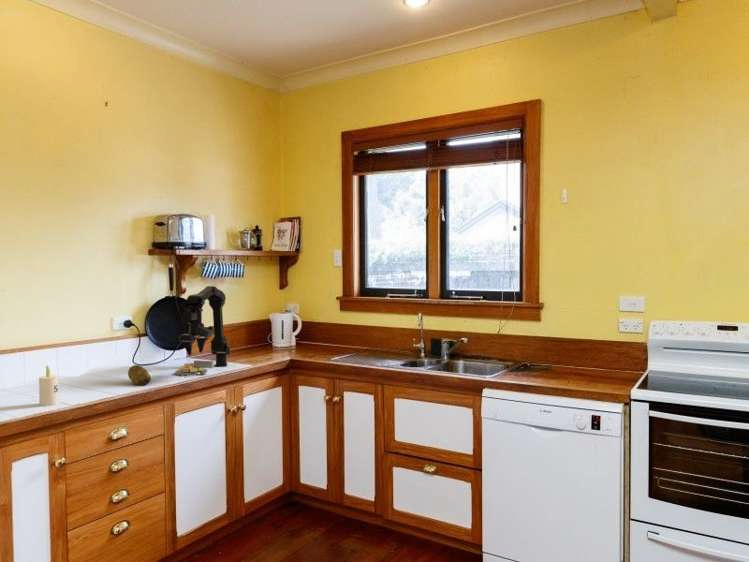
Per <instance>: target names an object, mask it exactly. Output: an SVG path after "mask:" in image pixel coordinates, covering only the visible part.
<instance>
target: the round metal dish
mask: <svg viewBox="0 0 749 562" xmlns="http://www.w3.org/2000/svg"><path fill="white" fill-rule="evenodd" d="M188 368H195V367H188ZM206 372H207V373H208V368H204V370H201V371H197V372H182V371H181V372H180V371H179V369H177V370H175V373H174V374H175V375H176V376H178V375H183V376H182V377H188V376H187V375H197V376H200V375H199V374H203V375H205V374H204V373H206ZM207 373H206V374H207Z"/></svg>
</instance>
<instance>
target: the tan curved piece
mask: <svg viewBox="0 0 749 562" xmlns="http://www.w3.org/2000/svg"><path fill="white" fill-rule="evenodd" d="M214 365H215V361H214V360H201V359H198V360H197V359H196V360H193V362H186V363H184V364H183V365H181V366H179V367H178V370H179V371H180V372H181V371H182V372H197V371H201V370H204V369H213V368H215V366H214ZM188 367H195V368H188Z"/></svg>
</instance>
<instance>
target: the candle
mask: <svg viewBox="0 0 749 562" xmlns="http://www.w3.org/2000/svg"><path fill="white" fill-rule="evenodd" d="M45 372H46V373H45V374H46V375H42V376H39V378H38V389H39V391H38V395H39V396H38V397H39V399H38V400H39V407H40V406H41V407H49V406H56V405H58V404H59V376H58V375H56V374H55V375H53V374H52V375H51V372H50V367H49V366H48V365H45Z"/></svg>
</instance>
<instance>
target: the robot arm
mask: <svg viewBox="0 0 749 562" xmlns="http://www.w3.org/2000/svg"><path fill="white" fill-rule="evenodd" d="M206 301H208V304H209V305H208V306H209V307H210V308H211V309H212V318H213V319H212V320H213V326H212V325H211V326H208V327H206V326H205V324H204V323H203V322H202V321H203V319H202V318H203V317H202V314H203V313H202V312H203V311H204V309H203V307H204V305H205V304H206ZM225 304H226V294H225V293H224V291H222V290H221V289H219V288H217V287H216V286H214V285H208V286H205V288H204V289H202V290H200V291H199V292H198V293H193V294H189V295H188V296H187V298H186V301H185V303H184V307H183V311H182V312H181V313H180V316H179V320H180V322H182V323H183V324H187V327H188V329H189V330H188V332H186V333H184V334H180V335H179V336H178V341H179V342H180V343H181V344H182V345H183V347H184V349H185V350H186V353H187V355H188V356H192V350H193V344H194V343H195V342H196V343H197V347H198V351H199V353H200V354H201V353H203V350H204V347H205V344H206V342H207V341H208V340H210V338H211V337H212V336H213V338H212V339H211V341H210V349H211V355H215V363H214V367H227V366H228V365H229V363H228V361H227V360H228V358H227V356H228V355H231V347H230V345H229V343H228V338H226V336H225V334H224V333H225V332H224V320H223V308H224V306H225ZM213 334H214V335H213ZM195 340H196V341H195ZM227 364H228V365H227ZM226 365H227V366H226Z"/></svg>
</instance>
